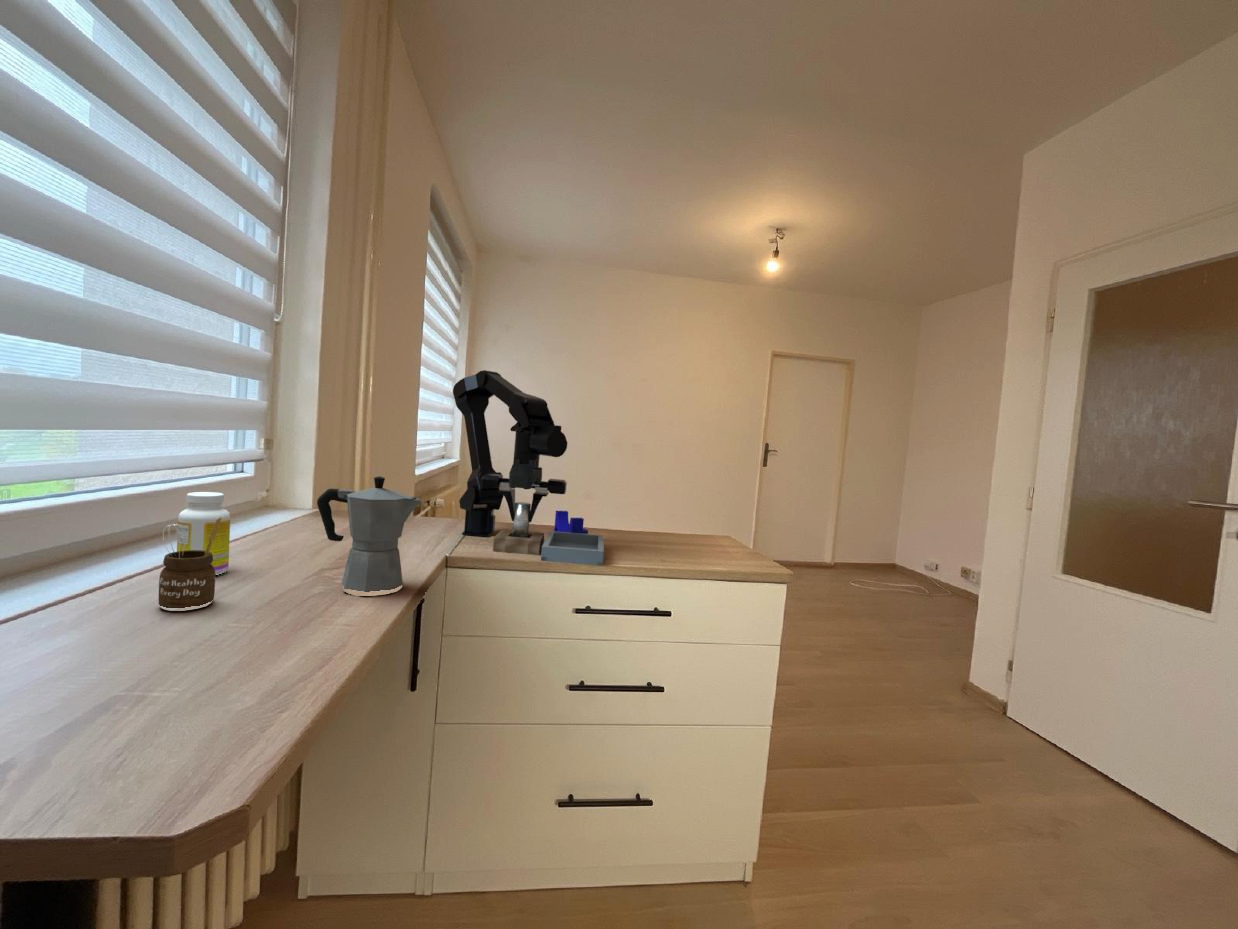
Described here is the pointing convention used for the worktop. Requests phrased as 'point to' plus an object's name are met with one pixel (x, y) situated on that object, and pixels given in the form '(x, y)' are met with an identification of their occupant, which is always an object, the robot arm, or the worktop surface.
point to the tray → (573, 548)
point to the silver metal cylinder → (521, 519)
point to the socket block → (518, 542)
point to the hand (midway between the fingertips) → (521, 521)
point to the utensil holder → (187, 575)
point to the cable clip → (564, 525)
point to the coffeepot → (370, 534)
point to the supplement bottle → (205, 527)
